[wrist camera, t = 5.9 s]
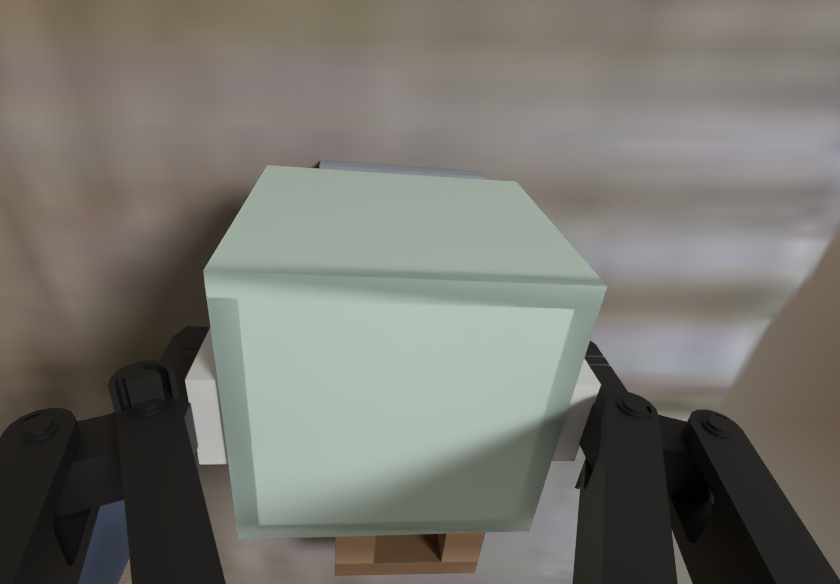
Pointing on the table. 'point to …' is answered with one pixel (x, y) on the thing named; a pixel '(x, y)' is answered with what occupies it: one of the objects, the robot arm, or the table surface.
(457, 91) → the table surface
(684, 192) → the table surface
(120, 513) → the peg
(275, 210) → the cover
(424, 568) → the socket block
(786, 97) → the table surface
